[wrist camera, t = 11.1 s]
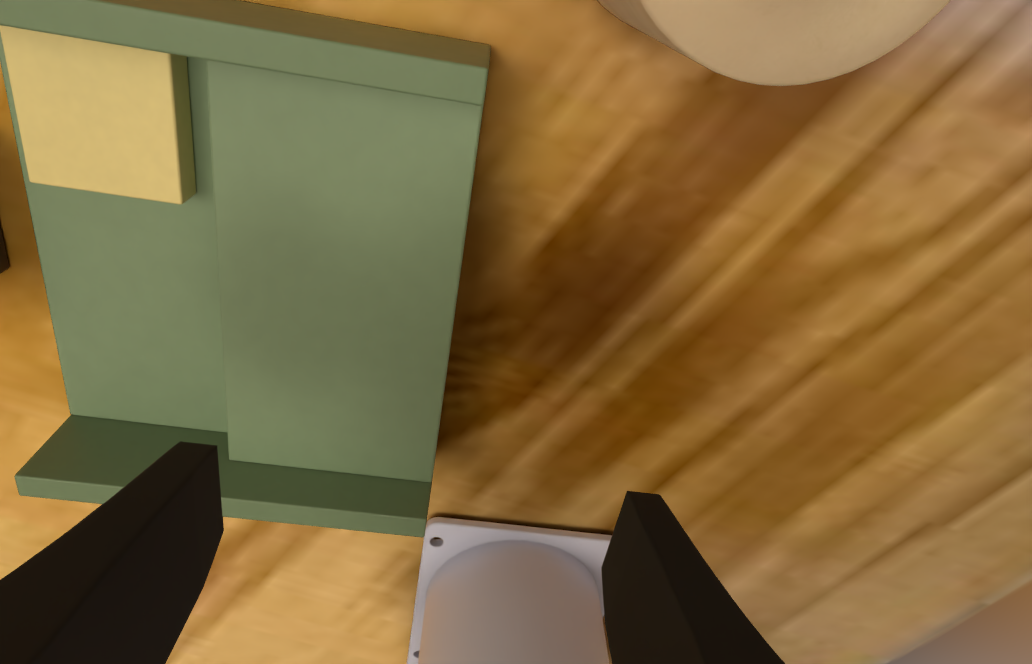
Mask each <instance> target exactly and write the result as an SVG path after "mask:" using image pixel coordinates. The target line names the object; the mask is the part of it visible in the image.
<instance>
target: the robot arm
mask: <svg viewBox="0 0 1032 664" xmlns="http://www.w3.org/2000/svg"><path fill="white" fill-rule="evenodd" d="M223 531H224V528H223V515H222V502H221V489H220V476H219V463H218V450H217V445H209V444H200V443H191V442H182V441H180V442H179V443H177V444H176V445H174V446H173V447H172V448H171V449H169V450H168V451H167V452H166V453H164V454H163V455H162V456H161V457H160V458H158V459H157V460H156V461H155V462H154V463H152V464H151V465H150V466H149V467H148V468H146V469H145V470H144V471H143V472H142V473H140V474H139V475H138V476H137V477H136V478H134V479H133V480H132V481H131V482H129V483H128V484H127V485H126V486H125V487H123V488H122V489H121V490H120V491H118V492H117V493H116V494H115V495H114V496H112V497H111V498H110V499H109V500H107V501H106V502H105V503H103V504H102V505H101V506H100V507H98V508H97V509H96V510H95V511H93V512H92V513H91V514H89V515H88V516H87V517H86V518H84V519H83V520H82V521H80V522H79V523H78V524H77V525H75V526H74V527H73V528H72V529H70V530H69V531H68V532H66V533H65V534H64V535H62V536H61V537H60V538H58V539H57V540H56V541H54V542H53V543H51V544H50V545H49V546H47V547H46V548H44V549H43V550H42V551H40V552H39V553H38V554H36V555H35V556H33V557H32V558H31V559H29V560H28V561H26V562H25V563H24V564H22V565H21V566H19V567H18V568H17V569H15V570H14V571H13V572H11V573H10V574H8V575H7V576H5V577H4V578H2V579H1V580H0V664H165V663H166V661H167V659H168V657H169V655H170V653H171V651H172V649H173V647H174V645H175V643H176V641H177V639H178V637H179V635H180V633H181V631H182V629H183V627H184V625H185V623H186V621H187V619H188V617H189V615H190V613H191V611H192V609H193V607H194V605H195V603H196V601H197V599H198V597H199V595H200V593H201V591H202V589H203V587H204V584H205V581H206V579H207V576H208V573H209V570H210V568H211V565H212V562H213V560H214V557H215V554H216V551H217V548H218V545H219V542H220V540H221V537H222V534H223ZM434 537H438V538H441V539H434ZM603 616H605V625H606V631H607V637H608V642H609V648H610V653H611V658H612V664H785V663H784V662H783V661H782V660H781V659H780V657H779V656H778V655H777V654H776V653H775V652H774V650H773V649H772V648H771V647H770V646H769V644H768V643H767V642H766V641H765V640H764V638H763V637H762V636H761V635H760V633H759V632H758V631H757V630H756V628H755V627H754V626H753V625H752V624H751V622H750V621H749V620H748V618H747V617H746V616H745V615H744V613H743V612H742V611H741V609H740V608H739V607H738V605H737V604H736V603H735V601H734V600H733V599H732V597H731V596H730V595H729V593H728V592H727V591H726V589H725V588H724V586H723V585H722V584H721V582H720V581H719V580H718V578H717V577H716V576H715V574H714V573H713V571H712V570H711V569H710V567H709V566H708V564H707V563H706V562H705V560H704V559H703V557H702V556H701V554H700V553H699V551H698V550H697V548H696V547H695V546H694V544H693V543H692V541H691V540H690V538H689V537H688V535H687V534H686V532H685V531H684V529H683V528H682V526H681V525H680V523H679V522H678V520H677V519H676V517H675V516H674V514H673V513H672V512H671V510H670V509H669V507H668V506H667V504H666V503H665V501H664V500H663V498H662V497H661V496H660V495H659V494H650V493H641V492H632V491H627V493H626V496H625V499H624V502H623V505H622V508H621V511H620V514H619V517H618V520H617V523H616V526H615V529H614V532H613V534H612V535H604V534H595V533H585V532H576V531H567V530H557V529H548V528H539V527H529V526H520V525H511V524H501V523H492V522H483V521H473V520H464V519H455V518H445V517H434V518H431V519H429V520H428V521H427V523H426V529H425V536H424V541H423V549H422V556H421V563H420V571H419V578H418V585H417V593H416V600H415V607H414V614H413V622H412V629H411V636H410V644H409V651H408V658H407V664H609V659H608V652H607V646H606V639H605V632H604V626H603Z"/></svg>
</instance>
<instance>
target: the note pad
mask: <svg viewBox="0 0 1032 664" xmlns="http://www.w3.org/2000/svg"><path fill="white" fill-rule="evenodd" d="M0 32H1V38H2V43H3V48H4V53H5V58H6V63H7V68H8V73H9V79H10V84H11V89H12V94H13V99H14V104H15V109H16V114H17V120H18V125H19V130H20V135H21V140H22V145H23V150H24V155H25V161H26V166H27V171H28V176H29V180H30V182H32V183H38V184H44V185H51V186H58V187H65V188H72V189H78V190H85V191H92V192H99V193H106V194H112V195H119V196H126V197H133V198H140V199H146V200H153V201H160V202H167V203H174V204H183V203H184V202H186V201H187V200H188V199H190V198H191V197H192V196H193V195H195V194H196V183H195V169H194V155H193V141H192V127H191V112H190V98H189V84H188V70H187V56H181V55H175V54H169V53H163V52H157V51H151V50H145V49H139V48H133V47H127V46H121V45H115V44H110V43H104V42H98V41H92V40H86V39H80V38H74V37H68V36H62V35H56V34H50V33H44V32H38V31H32V30H26V29H20V28H14V27H8V26H2V25H0Z"/></svg>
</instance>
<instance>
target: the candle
mask: <svg viewBox="0 0 1032 664" xmlns="http://www.w3.org/2000/svg"><path fill="white" fill-rule="evenodd" d="M949 1H950V0H598V2H599V3H600V4H601V5H602V6H603V7H604V8H605V9H607V10H608V11H609V12H611V13H612V14H613V15H615V16H616V17H617V18H619V19H620V20H622V21H623V22H625V23H627V24H629V25H630V26H632V27H634V28H636V29H638V30H639V31H641V32H643V33H645V34H647V35H648V36H650V37H652V38H654V39H656V40H658V41H659V42H661V43H663V44H665V45H667V46H668V47H670V48H672V49H674V50H676V51H677V52H679V53H681V54H683V55H685V56H687V57H688V58H690V59H692V60H694V61H696V62H697V63H699V64H701V65H703V66H705V67H707V68H708V69H710V70H712V71H714V72H716V73H719V74H722V75H724V76H727V77H730V78H732V79H735V80H739V81H744V82H748V83H753V84H758V85H772V86H789V85H802V84H809V83H814V82H818V81H823V80H828V79H831V78H834V77H837V76H840V75H843V74H846V73H849V72H852V71H854V70H856V69H858V68H860V67H863V66H865V65H867V64H869V63H871V62H873V61H875V60H877V59H879V58H880V57H882V56H884V55H885V54H887V53H888V52H890V51H892V50H893V49H895V48H897V47H898V46H900V45H901V44H902V43H904V42H905V41H906V40H908V39H909V38H910V37H911V36H913V35H914V34H915V33H917V32H918V31H919V30H921V29H922V28H923V27H924V26H925V25H926V24H927V23H928V22H929V21H930V20H931V19H933V18H934V17H935V16H936V15H937V14H938V13H939V12H940V11H941V10H942V9H943V8H944V7H945V6H946V5H947V4H948V3H949Z"/></svg>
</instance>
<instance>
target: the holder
mask: <svg viewBox="0 0 1032 664" xmlns="http://www.w3.org/2000/svg"><path fill="white" fill-rule="evenodd" d="M8 268H9V263H8V259H7V254H6V250H5V245H4V241H3V237H2V232H1V228H0V273H2V272H4V271H5V270H7V269H8Z"/></svg>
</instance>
